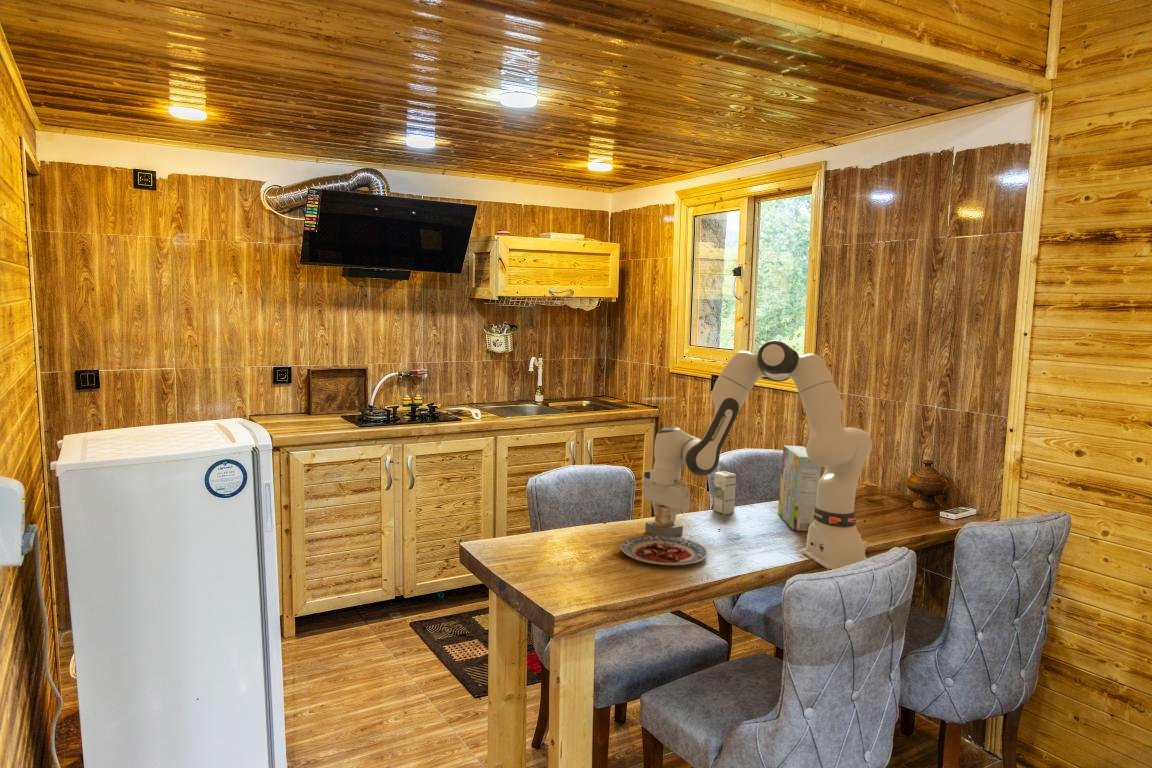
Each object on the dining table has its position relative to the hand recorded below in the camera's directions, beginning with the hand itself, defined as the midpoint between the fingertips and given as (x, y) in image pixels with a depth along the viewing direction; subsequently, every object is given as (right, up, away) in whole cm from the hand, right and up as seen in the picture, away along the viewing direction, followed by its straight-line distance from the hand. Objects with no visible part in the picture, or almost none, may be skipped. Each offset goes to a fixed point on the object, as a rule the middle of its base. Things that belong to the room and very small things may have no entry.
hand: (664, 518), depth 243 cm
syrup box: (+25, -3, +28) cm, 38 cm away
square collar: (0, -5, +1) cm, 5 cm away
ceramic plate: (-3, -8, -21) cm, 22 cm away
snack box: (+49, -5, +18) cm, 52 cm away
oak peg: (0, -5, +1) cm, 5 cm away
